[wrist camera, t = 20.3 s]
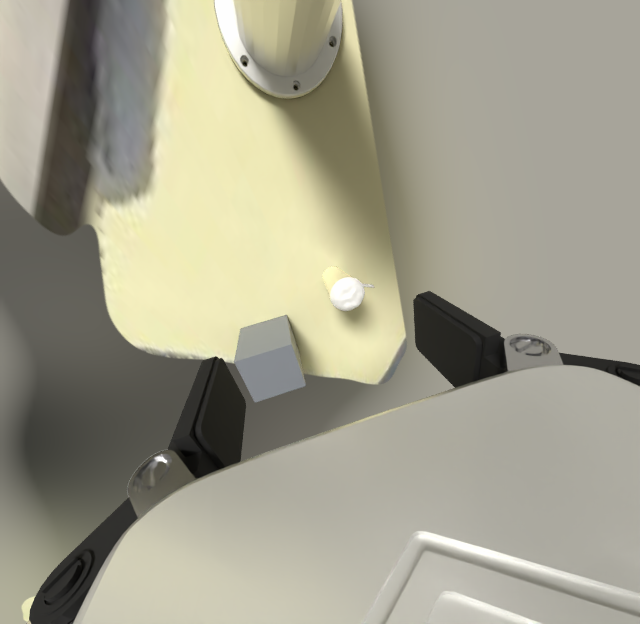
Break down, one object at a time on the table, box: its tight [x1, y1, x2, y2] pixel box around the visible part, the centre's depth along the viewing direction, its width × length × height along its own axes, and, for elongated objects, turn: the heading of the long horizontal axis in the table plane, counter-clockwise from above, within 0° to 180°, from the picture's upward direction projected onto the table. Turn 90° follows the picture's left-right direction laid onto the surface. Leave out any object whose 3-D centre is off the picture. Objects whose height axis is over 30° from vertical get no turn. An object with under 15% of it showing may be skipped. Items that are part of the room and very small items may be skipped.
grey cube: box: [234, 315, 306, 402], centre depth 37 cm, size 8×8×9 cm
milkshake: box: [322, 266, 374, 311], centre depth 33 cm, size 4×5×10 cm
